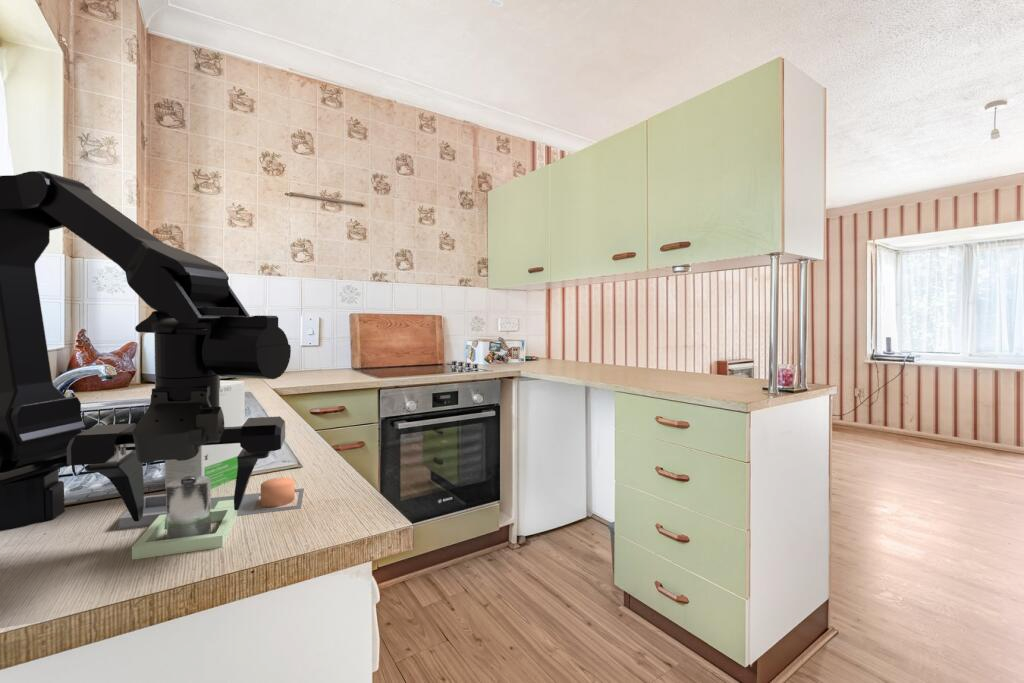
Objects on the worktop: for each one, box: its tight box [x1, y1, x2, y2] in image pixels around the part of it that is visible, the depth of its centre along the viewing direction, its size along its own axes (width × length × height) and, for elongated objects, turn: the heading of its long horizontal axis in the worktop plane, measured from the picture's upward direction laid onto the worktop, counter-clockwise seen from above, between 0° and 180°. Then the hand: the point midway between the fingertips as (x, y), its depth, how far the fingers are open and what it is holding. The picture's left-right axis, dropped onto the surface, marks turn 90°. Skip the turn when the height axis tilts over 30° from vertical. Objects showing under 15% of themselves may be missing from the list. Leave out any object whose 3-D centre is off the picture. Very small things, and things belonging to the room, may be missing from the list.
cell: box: [165, 476, 212, 540], centre depth 50 cm, size 4×4×7 cm
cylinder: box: [260, 477, 295, 508], centre depth 60 cm, size 4×4×2 cm
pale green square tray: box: [131, 507, 238, 561], centre depth 50 cm, size 8×8×2 cm
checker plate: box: [115, 488, 305, 531], centre depth 58 cm, size 19×7×2 cm, turn 112°
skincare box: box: [164, 379, 246, 490], centre depth 66 cm, size 8×7×16 cm
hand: (189, 514), depth 50 cm, fingers open, 9 cm apart
